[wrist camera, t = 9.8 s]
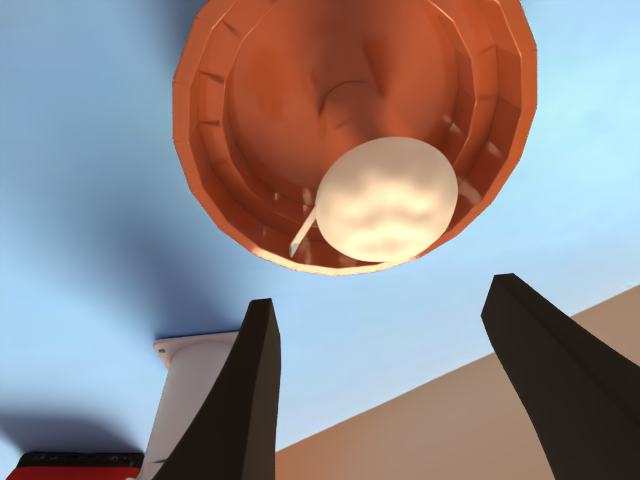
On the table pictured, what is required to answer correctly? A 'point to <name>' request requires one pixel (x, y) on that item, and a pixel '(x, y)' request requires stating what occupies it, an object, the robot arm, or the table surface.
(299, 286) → the table surface
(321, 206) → the milkshake
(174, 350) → the robot arm
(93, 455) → the handheld console
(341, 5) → the bowl
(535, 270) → the table surface
